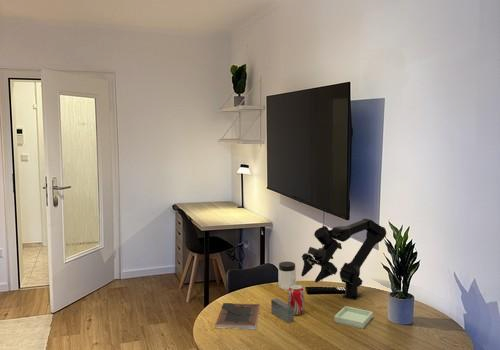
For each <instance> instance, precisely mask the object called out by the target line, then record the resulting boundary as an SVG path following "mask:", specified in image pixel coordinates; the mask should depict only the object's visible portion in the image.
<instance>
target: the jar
mask: <svg viewBox="0 0 500 350" xmlns="http://www.w3.org/2000/svg"><path fill="white" fill-rule="evenodd" d="M277 271H278V277H277V278H278V280H277V281H278V282H277V283H278V288H279V289H281V290H286V291H288V289H289V288H290V285H292V284H297V269H296V263H295V262H292V261H280V262H279V263H278V269H277Z"/></svg>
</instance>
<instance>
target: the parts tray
mask: <svg viewBox="0 0 500 350" xmlns="http://www.w3.org/2000/svg"><path fill="white" fill-rule="evenodd" d="M373 315H374V312H373V311H370V310H365V309H361V308H356V307H351V306H347V305H345V306H344V307H343V308H342V309H341V310H340V311H338V312H337V313H336V314H335V315H334V317H333V318H334V323H337V324H340V325H345V326H349V327H354V328H357V329H361V330H364V329H365V327H366V326H367V325H368V323H369V322H370V321H371V320H372V319H373V318H374V317H373Z"/></svg>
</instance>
